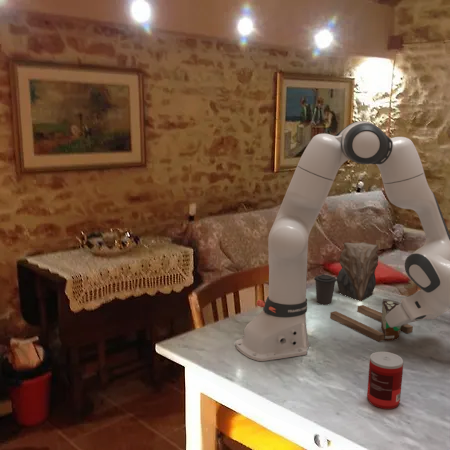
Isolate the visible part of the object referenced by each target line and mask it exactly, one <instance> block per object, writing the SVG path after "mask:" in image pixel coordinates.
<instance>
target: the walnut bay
mask: <svg viewBox="0 0 450 450" xmlns="http://www.w3.org/2000/svg"><path fill="white" fill-rule="evenodd" d="M357 312H358V313H360V314H361V315H364V316H366V317H369V318H370V319H374V320H376V321H378V322H380V323H381V321H382V311H378V310H375V309H373V308H371V307H369V306H367V305H363V304H361V305H358V306H357ZM329 313H330V314H329V318H330V319H331V320H334V321H335V322H338V323H340V324H342V325H343V326H345V327H347V328H350V329H352V330H354V331H356V332H358V333H360V334H362V335H363V336H366V337H369V338H370V339H373V340H374V341H376V342H379V343H380V342H383V341H385V334H384V333H382V331H379V330H377V329H375V328H373V327H370V326H368V325H366V324H365V323H362V322H360V321H358V320H356V319H354V318H351V317H349V316H347V315H345V314H343V313H341V312H339V311H337V310H336V311H331V312H329ZM413 328H414V326H413V325H411V324H410V323H408V324H406V325H404V326H401V329H400V332H402V333H405V334H411V333H413V331H414V330H413Z"/></svg>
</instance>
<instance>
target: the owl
mask: <svg viewBox="0 0 450 450" xmlns="http://www.w3.org/2000/svg"><path fill="white" fill-rule="evenodd" d="M378 251H379V245H378V244H377V243H376V244H372V243H369V242H365V241H364V242H363V241H362V242H358V243H357V242H355V243H352V242H344V243H343V250H342V252H340V257H339V265H340V267H341V268H340V270H339V271H338V275H337V277H336V280H337V281H336V283H337V288H338V289H337V290H338V294H339V293H341V294H343V295H342V296H345V295H346V296H345V297H347V296H348V297H347V298H350V297H351V298H350V299H352V298H353V299H352V300H355V299H356V301H358V300H359V301H358V302H363V301H364V300H366V299H367V298H369V297H371V296H373V292H374V290H375V287H376V283H377V280H376V275H375V274H376V273H375V272H376V269H377V268H378V265H379V255H378ZM341 294H340V295H341ZM362 300H363V301H362Z"/></svg>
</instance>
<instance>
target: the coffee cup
mask: <svg viewBox="0 0 450 450" xmlns="http://www.w3.org/2000/svg"><path fill="white" fill-rule="evenodd" d="M313 279H314V281H315V293H316V295H315V297H316V303H317V304H318V305H322V304H323V305H324V306H325V305H326V306H327V305H328V304H329V305H332V302H333V297H334V292H335V291H334V290H335V284H336V283H337V280H336V279H337V277H334V276H332V275H328V274H319V275H316V276H315V277H314V278H313Z"/></svg>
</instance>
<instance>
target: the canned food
mask: <svg viewBox="0 0 450 450" xmlns="http://www.w3.org/2000/svg"><path fill="white" fill-rule="evenodd" d="M368 363H369V365H368V379H367V380H368V381H367V393H366V396H367V400H368V402H369V403H370V404H371V405H372V406H374V407H377V408H378V409H384V410H391V409H396V408H397V407H398V406H399V404H400V402H401V395H402V384H403V373H404V372H403V371H404V359H403V358H402V357H401V356H400V355H398V354H396V353H393V352H389V351H376V352H373V353H371V354H370V356H369V362H368Z"/></svg>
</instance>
